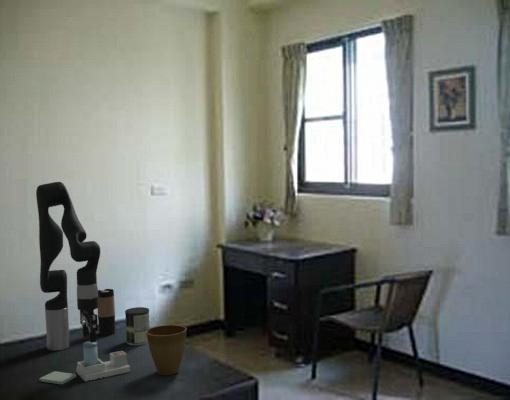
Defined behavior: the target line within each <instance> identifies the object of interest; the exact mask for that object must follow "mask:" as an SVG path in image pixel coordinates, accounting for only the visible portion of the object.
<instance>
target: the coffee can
mask: <svg viewBox="0 0 510 400" xmlns="http://www.w3.org/2000/svg"><path fill="white" fill-rule="evenodd" d="M124 313H125V330H126V331H125V334H126V344H127V345H129V346H143V345H147V344H148V340H147V335H146V331H147V330H148V329H150V309H149V307H141V306H139V307H138V306H136V307H130V308H128V309H126V310H125V311H124Z"/></svg>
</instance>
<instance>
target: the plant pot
mask: <svg viewBox="0 0 510 400" xmlns="http://www.w3.org/2000/svg"><path fill="white" fill-rule="evenodd" d="M146 335H147V340H148V343H147V344H148V348H149V352H150V355H151V358H152V360H153V361H152V362H153V363H154V366H155V368H156V371H157V373H158V374H159V375H162V376H172V375H176V374H177V373H178V372H179V370H180V367H181V363H182V360H183V356H184V353H185V352H184V351H185V345H186V340H187V327H186V326H184V325H179V324H164V325H157V326H154V327H151V328H150V329H148V330H147V331H146Z"/></svg>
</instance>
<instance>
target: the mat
mask: <svg viewBox="0 0 510 400" xmlns="http://www.w3.org/2000/svg"><path fill="white" fill-rule="evenodd" d="M75 378H77V373H70V372H64V371H63V372H62V371H52V372H50V373H47V374H46V375H44V376H42V377H40V378H39V379H38V380H39V382H42V383H43V382H44V383H50V384H55V385H64V384H65V383H67V382H69V381H71V380H73V379H75Z"/></svg>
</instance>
